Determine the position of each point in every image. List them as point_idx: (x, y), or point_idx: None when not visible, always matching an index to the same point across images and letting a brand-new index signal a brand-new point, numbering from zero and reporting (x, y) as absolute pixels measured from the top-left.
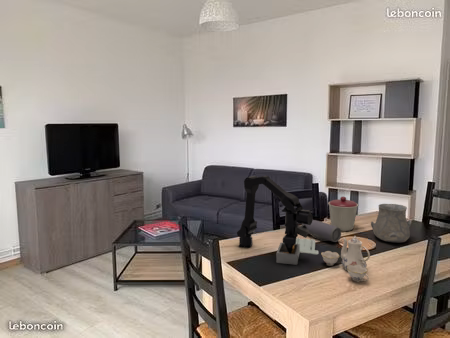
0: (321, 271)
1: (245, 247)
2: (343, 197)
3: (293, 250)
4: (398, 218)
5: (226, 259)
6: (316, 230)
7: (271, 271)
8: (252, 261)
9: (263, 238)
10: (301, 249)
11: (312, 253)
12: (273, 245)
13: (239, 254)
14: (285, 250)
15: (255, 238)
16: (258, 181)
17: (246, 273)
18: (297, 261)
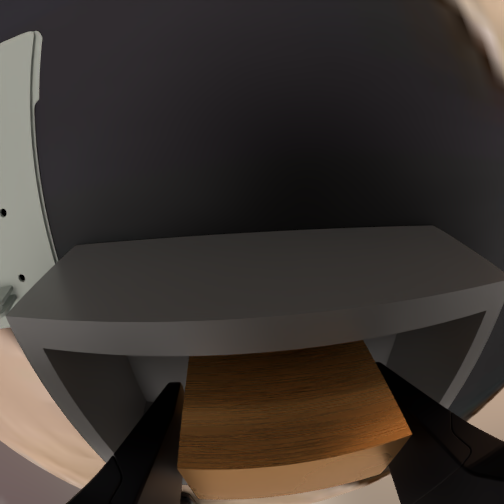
0: (486, 18)
1: (193, 499)
2: None
3: (376, 373)
4: None
5: (343, 493)
6: None
7: (487, 353)
8: None
9: (31, 446)
10: (5, 243)
11: (31, 93)
12: (67, 428)
13: (283, 495)
14: (132, 392)
15: (58, 467)
16: None
17: (472, 412)
18: (410, 234)
